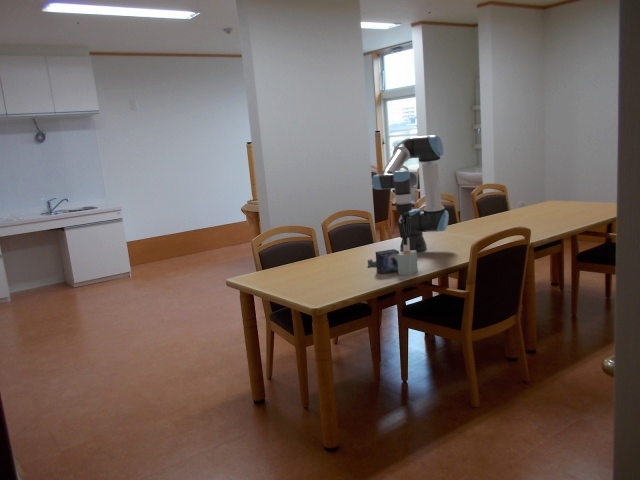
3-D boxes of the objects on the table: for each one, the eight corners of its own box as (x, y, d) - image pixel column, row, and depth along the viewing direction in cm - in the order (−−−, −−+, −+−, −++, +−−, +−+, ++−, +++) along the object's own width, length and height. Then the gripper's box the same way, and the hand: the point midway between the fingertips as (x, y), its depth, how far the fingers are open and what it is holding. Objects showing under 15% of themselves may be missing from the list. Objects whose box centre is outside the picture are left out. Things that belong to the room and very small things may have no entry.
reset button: (405, 260, 269) (404, 250, 268) (412, 260, 267) (411, 250, 266) (402, 262, 266) (401, 252, 265) (409, 262, 264) (408, 252, 263)
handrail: (370, 265, 290) (369, 259, 289) (410, 266, 278) (410, 260, 277) (368, 266, 288) (367, 260, 287) (409, 267, 276) (408, 261, 275)
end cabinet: (406, 269, 273) (405, 250, 271) (417, 270, 270) (416, 250, 268) (398, 274, 265) (397, 254, 263) (410, 275, 261) (408, 255, 260)
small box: (381, 274, 268) (379, 254, 266) (376, 272, 274) (374, 251, 273) (400, 271, 271) (399, 250, 269) (395, 268, 277) (394, 248, 275)
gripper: (401, 201, 268) (404, 247, 273) (390, 205, 257) (394, 253, 262) (415, 200, 264) (418, 248, 269) (405, 204, 254) (409, 254, 258)
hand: (406, 250), depth 265 cm, fingers closed
